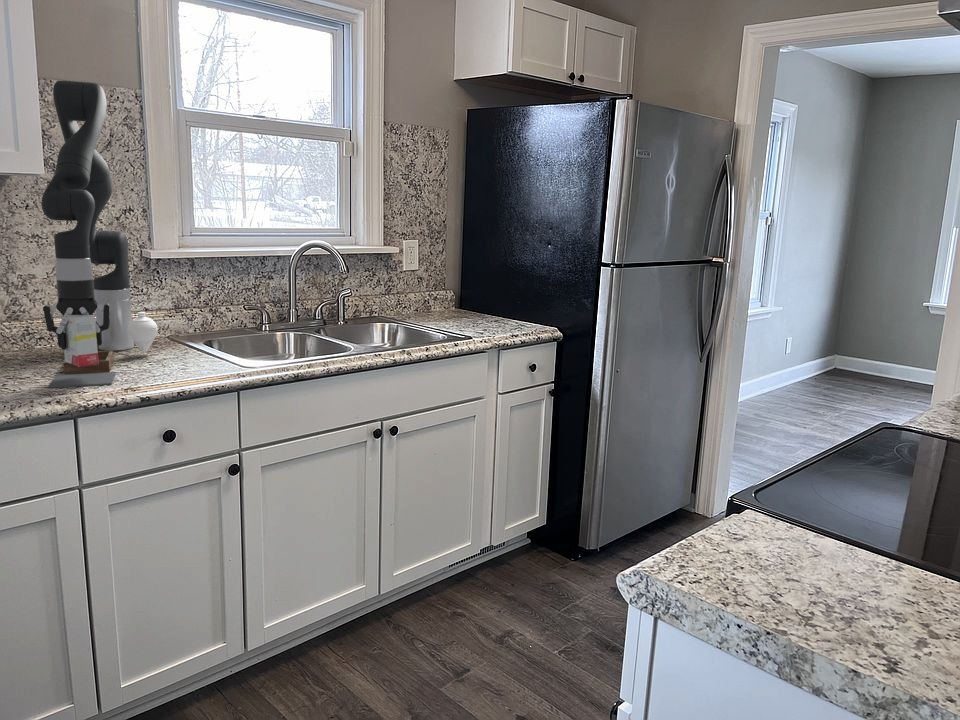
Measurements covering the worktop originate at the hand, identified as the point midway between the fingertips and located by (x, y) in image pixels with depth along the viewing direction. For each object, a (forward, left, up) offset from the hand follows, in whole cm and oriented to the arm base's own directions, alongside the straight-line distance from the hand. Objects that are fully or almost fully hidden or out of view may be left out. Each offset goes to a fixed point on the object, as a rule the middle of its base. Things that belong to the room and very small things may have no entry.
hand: (80, 348), depth 177 cm
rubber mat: (0, 0, -8) cm, 8 cm away
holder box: (-14, 0, -8) cm, 16 cm away
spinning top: (-28, +12, -8) cm, 31 cm away
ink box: (0, 0, -4) cm, 4 cm away
